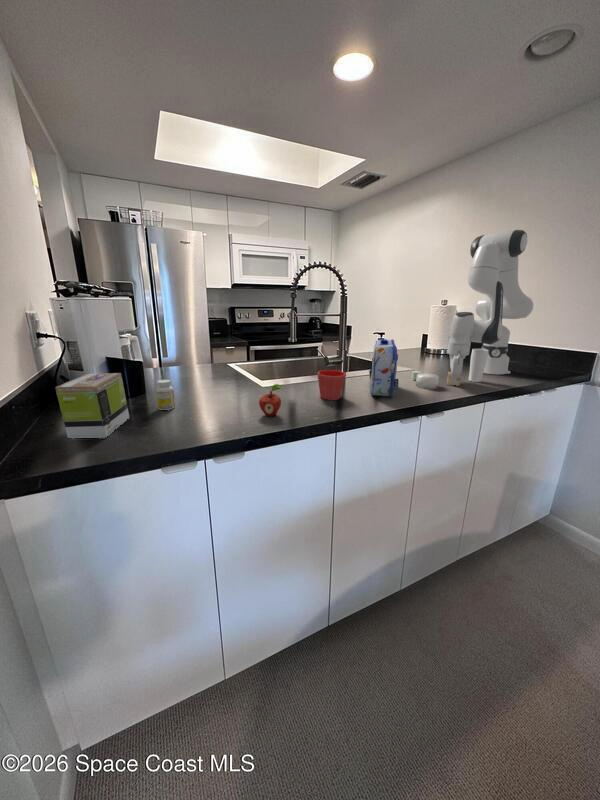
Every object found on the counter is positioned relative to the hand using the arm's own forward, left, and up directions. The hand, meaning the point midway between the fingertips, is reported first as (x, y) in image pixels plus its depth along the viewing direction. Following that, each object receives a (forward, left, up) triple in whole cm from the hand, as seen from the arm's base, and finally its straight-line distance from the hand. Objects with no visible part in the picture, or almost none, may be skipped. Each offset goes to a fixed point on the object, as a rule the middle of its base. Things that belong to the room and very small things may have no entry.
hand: (453, 380), depth 144 cm
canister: (+9, -11, -2) cm, 14 cm away
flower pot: (+43, -45, -2) cm, 62 cm away
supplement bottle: (+79, -92, -2) cm, 121 cm away
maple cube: (0, 0, -2) cm, 2 cm away
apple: (+70, -57, -2) cm, 90 cm away
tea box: (+100, -96, -2) cm, 139 cm away
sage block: (-2, -16, -2) cm, 16 cm away
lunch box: (+26, -28, -2) cm, 38 cm away
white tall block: (-11, +10, -2) cm, 15 cm away
